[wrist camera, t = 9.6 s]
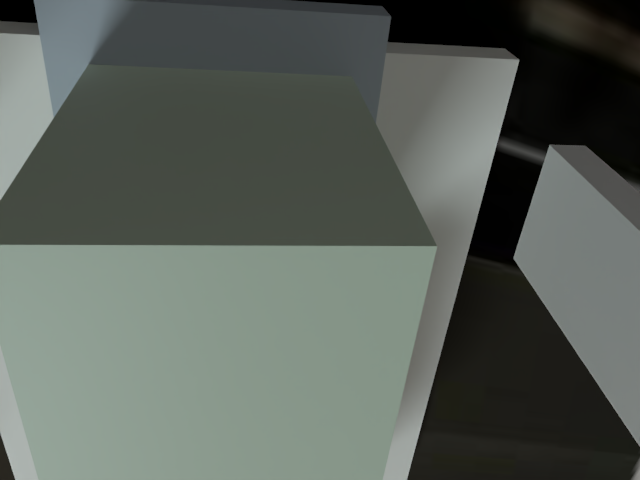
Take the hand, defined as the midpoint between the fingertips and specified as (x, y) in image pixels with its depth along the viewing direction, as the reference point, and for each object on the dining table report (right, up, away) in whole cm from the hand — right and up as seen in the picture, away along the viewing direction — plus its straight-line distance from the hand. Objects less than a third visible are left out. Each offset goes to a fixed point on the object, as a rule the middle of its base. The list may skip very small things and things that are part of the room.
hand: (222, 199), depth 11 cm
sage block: (0, 0, +1) cm, 1 cm away
